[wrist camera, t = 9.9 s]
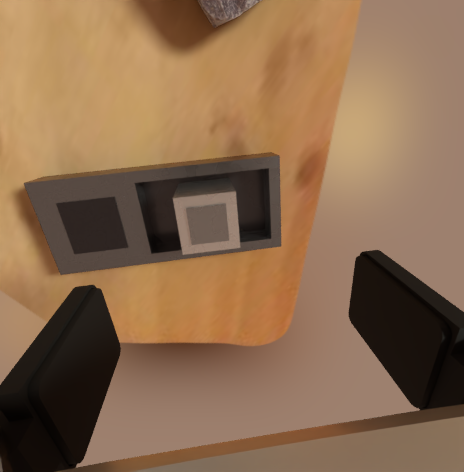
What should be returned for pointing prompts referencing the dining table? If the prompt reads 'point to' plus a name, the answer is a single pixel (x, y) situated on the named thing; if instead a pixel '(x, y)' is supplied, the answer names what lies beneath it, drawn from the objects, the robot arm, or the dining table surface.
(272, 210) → the grey tray with recess
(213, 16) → the rock
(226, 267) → the dining table surface
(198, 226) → the gray cube
